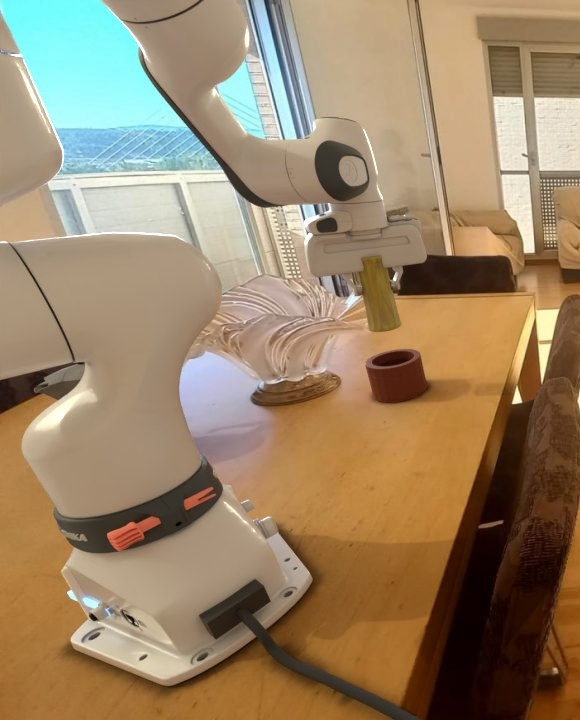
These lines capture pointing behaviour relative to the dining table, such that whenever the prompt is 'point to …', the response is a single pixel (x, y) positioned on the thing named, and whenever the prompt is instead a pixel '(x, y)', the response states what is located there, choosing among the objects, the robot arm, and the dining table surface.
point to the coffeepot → (61, 381)
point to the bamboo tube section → (378, 296)
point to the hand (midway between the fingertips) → (377, 292)
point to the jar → (396, 375)
